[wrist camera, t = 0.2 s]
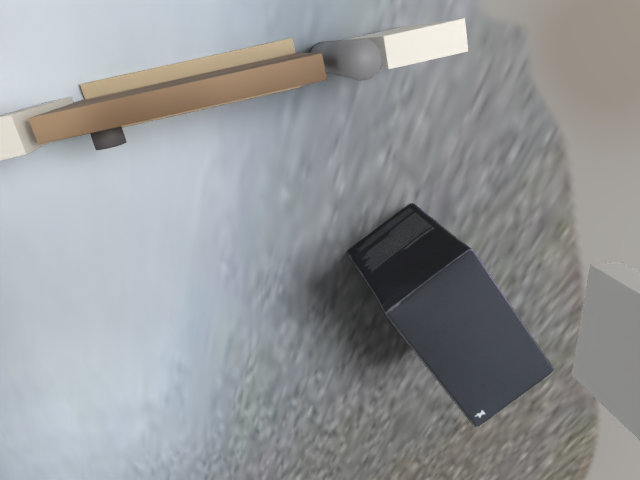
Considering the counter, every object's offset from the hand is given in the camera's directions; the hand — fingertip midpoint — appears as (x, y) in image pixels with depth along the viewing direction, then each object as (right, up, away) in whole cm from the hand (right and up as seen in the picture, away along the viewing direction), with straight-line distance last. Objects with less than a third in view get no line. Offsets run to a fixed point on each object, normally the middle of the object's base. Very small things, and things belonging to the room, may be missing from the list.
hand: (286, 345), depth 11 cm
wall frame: (-6, +12, +23) cm, 27 cm away
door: (-7, +11, +23) cm, 27 cm away
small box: (+8, -1, +31) cm, 32 cm away
